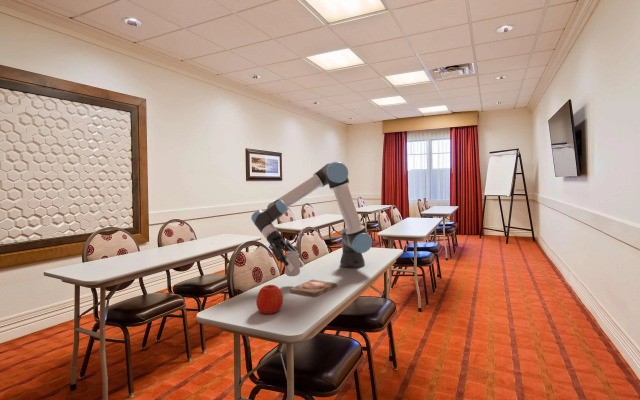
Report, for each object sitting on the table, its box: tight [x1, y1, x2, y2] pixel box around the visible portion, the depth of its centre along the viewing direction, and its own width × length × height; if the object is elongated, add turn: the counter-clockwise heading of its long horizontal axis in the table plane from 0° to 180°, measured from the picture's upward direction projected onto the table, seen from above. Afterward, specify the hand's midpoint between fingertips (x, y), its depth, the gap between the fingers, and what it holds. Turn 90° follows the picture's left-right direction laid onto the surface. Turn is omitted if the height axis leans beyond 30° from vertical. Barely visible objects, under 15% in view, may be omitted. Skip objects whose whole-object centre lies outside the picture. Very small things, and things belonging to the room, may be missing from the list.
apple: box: [256, 284, 284, 315], centre depth 138 cm, size 11×11×11 cm
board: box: [289, 279, 338, 297], centre depth 166 cm, size 18×15×2 cm
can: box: [284, 250, 301, 277], centre depth 174 cm, size 8×8×12 cm
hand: (297, 268), depth 172 cm, fingers closed on can, 7 cm apart
